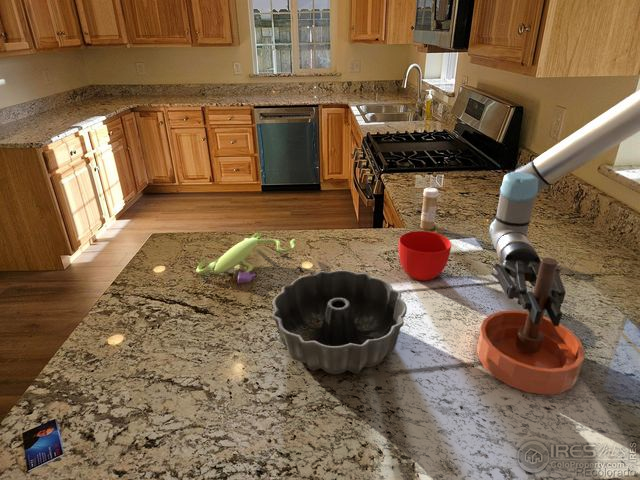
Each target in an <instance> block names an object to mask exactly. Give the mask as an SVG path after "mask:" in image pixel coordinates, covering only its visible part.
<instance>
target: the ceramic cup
mask: <svg viewBox="0 0 640 480" xmlns="http://www.w3.org/2000/svg"><path fill="white" fill-rule="evenodd" d="M451 250H452V243H451V240H450V239H448V238H447V237H446V236H444V235H442V234H439V233H437V232H434V231H433V232H432V231H426V230H416V231H409V232H406V233H403V234H401V235H400V237H399V240H398V256H399V257H398V258H399V263H400V265H401V267H402V269H403V271H404V272H405V274H406V275H407V276H408V277H410V278H411V279H413V280H416V281H423V282H424V281H425V282H426V281H432V280H434V279H435V278H437V277H438V276H439V275H440V274H441V273H442V272H443V271H444V270H445V268H446V266H447V263H448V260H449V258H450V254H451Z"/></svg>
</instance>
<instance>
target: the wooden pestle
mask: <svg viewBox="0 0 640 480" xmlns="http://www.w3.org/2000/svg"><path fill="white" fill-rule="evenodd" d="M540 262H541V264H540V268H539V272H538V276H537V280H536V284H535V287H533V291H532V292H533V295H534V297H535V299H536V301H537V303H538V305H539V307H540V309H541V311H542V312H541V316H540V320H539V324H534V323H533V321H532V319H531V316H530V314H529V312H528V311H527V312H528V316H527V320H526V324H525V327H521V328H520V329H519V330H518V334H517V338H516V346H517V347H518V348H519V349H520V350H522V351H524V352H527V353H537V352H539V350H540V347H541V344H542V340H543V334H542V333H541V332H540V327H541V323H542V320H543V316H544V317H545V312H546V305H547V301H548V298H549V294H550V290H551V287H552V283H553V279H554V275H555V272H556V268H557V269H558V264H559V262H558V260H557V259H555V258H552V257H543V258H541V259H540Z"/></svg>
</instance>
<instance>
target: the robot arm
mask: <svg viewBox="0 0 640 480" xmlns="http://www.w3.org/2000/svg"><path fill="white" fill-rule="evenodd" d="M639 132H640V88H639V89H638V90H636V91H634V92H633V93H632V94H630V95H629V96H628V97H625V99H623V100H621V101H619V102H618V103H617V104H615V105H614V106H612V107H611V108H609V109H608V110H606V111H605V112H603V113H602V114H600V115H598V116H597V117H596V118H594V119H593V120H592V121H591V120H590V122H588V123H587V124H585V125H583V126H582V127H581V128H579V129H578V130H576V131H574V132H573V133H572V134H570V135H569V136H567V137H566V138H564V139H563V140H561V141H560V142H558V143H557V144H555V145H554V146H552V147H551V148H549V149H547V151H545V152H543V153H542V154H540V155H539V156H537V157H536V158H534V159H533V160H532V161H530V162H528V163H527V164H526V165H522V166H519V167H518V168H516V169H515V170H514V171H511V172H508V173H506V174H505V175H504V176H503V180H502V183H501V186H500V188H499V189H500V190H499V191H500V193H499V199H498V204H497V210H496V214H495V219H494V220H493V221H492V222H491V224H490V226H489V237H490V241H491V243H492V244H493V247H494V249H495V252H496V254H497V256H498V259H499V261H500V263H496V262H495V263H493V264H492V269H491V276H492V277H494V278H495V279H496V280H497V281H498V283H499V285H500V287H501V289H502V290H503V292H504V294H505V296H506V298H507V299H510V300H514V299H517V300H516V304H517V305H518V306H521V307H522V309H523V310H527V312H529V314H530V316H531V319H532V321H533V323H534V324H539V320H540V316H541V312H542V311H541V309H540V307H539V305H538V303H537V301H536V299H535V297H534V295H533V292H534V291H530V290H529V291H528V288H527V283H526V282H529V284H530V285H531V287H533V288H535V284H536V280H537V276H538V272H539V268H540V264H541V259H540V256H539V254H538V252H537V251H536V249H535V247H534V245H533V244H532V242H531V240H530V239H529V237H528V230H529V227H530V223H531V217H532V214H533V209H534V205H535V201H536V199H537V196H538V194H539V193H541V192H543V191H544V190H545V189H547V188H548V187H550V186H552V185H553V184H555V183H557V182H558V181H559V180H560V181H561V180H562V179H563V178H565V177H566V176H568V175H570V174H572V173H574V172H575V171H576V170H578V169H580V168H581V167H583V166H584V165H587V164H588V163H590V162H591V161H593V160H595V159H596V158H598V157H599V156H601V155H603V154H605V153H606V152H608V151H609V150H611V149H612V148H614V147H616V146H618V145H619V144H621V143H622V142H624V141H626V140H627V139H630V138H631V137H632V136H634V135H636V134H638V133H639ZM560 274H561V269H560V268H558V267H557V268H556V272H555V275H554V279H553V283H552V287H551V290H550V294H549V298H548V301H547V305H546V309H545V312H546V314H547V315H548V318H549V319H551V321H552V323H553V325H554V326H559V323H560V324H561V319H562V316H563V312H562V311H561V308H562V305H563V304H564V300H565V297H566V293H567V292H566V291H567V290H566V289H565V286H564V284H563V280H562V279H561V276H560Z"/></svg>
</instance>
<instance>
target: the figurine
mask: <svg viewBox="0 0 640 480" xmlns="http://www.w3.org/2000/svg"><path fill="white" fill-rule="evenodd" d="M262 235H263V234H262V232H255V233H254V234H252V236H251V237H245V238H244V239H243V240H242V241H240V242H238V243H237V244H235V245H233V246H232V247H231V248H229V249H228V250H227V251H226V252H225V253H224V254H223V255H221V256H220V257H218V258H217V259H216V260H214V261H212V262H211V263H209V264H208V265H207V266H206V267H204V266H205V264H206V262H207V259H206V258H202V260H201V261H200V262H199V264H198V265H197V267H196V269H195V273H196V274H197V275H203V274H206V273H208V272H209V271H211V270H212V269H213V268H214V269H213V272H215V273H218V274H222V273H225V272H228V274H232V275H233V273H234V272H235V267H237V266H239V264H241V265H242V266H244V267H246V268H247V267H248V268H247V270H244V269H242V268H241V269H240V270H239V271H238V274H237V276H236V277H237V280H236V281H237V284H246V283H247V284H248V283H250V282H251V281H252V280H255V277H256V273H254V271H253V269H254V266H253V264H251V263H249V262H247V261H245V260H246V259H247V258H248V257H249V256H250V255H251V254H252V253H253V252H254V250H255V249H256V247H257V245H258V244H274V245H276V251H277V252H278V253H279V254H286V253H289V252H292V251H294V250H295V249H296V248H297V247H296V245H295V243H297V239H295V238H293V239H291V240H290V242H289V245H290V247H291V248H286V249H285V248H281V241H280V240H278V239H276V238H275V239H274V238H261V237H262ZM203 267H204V268H203Z"/></svg>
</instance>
